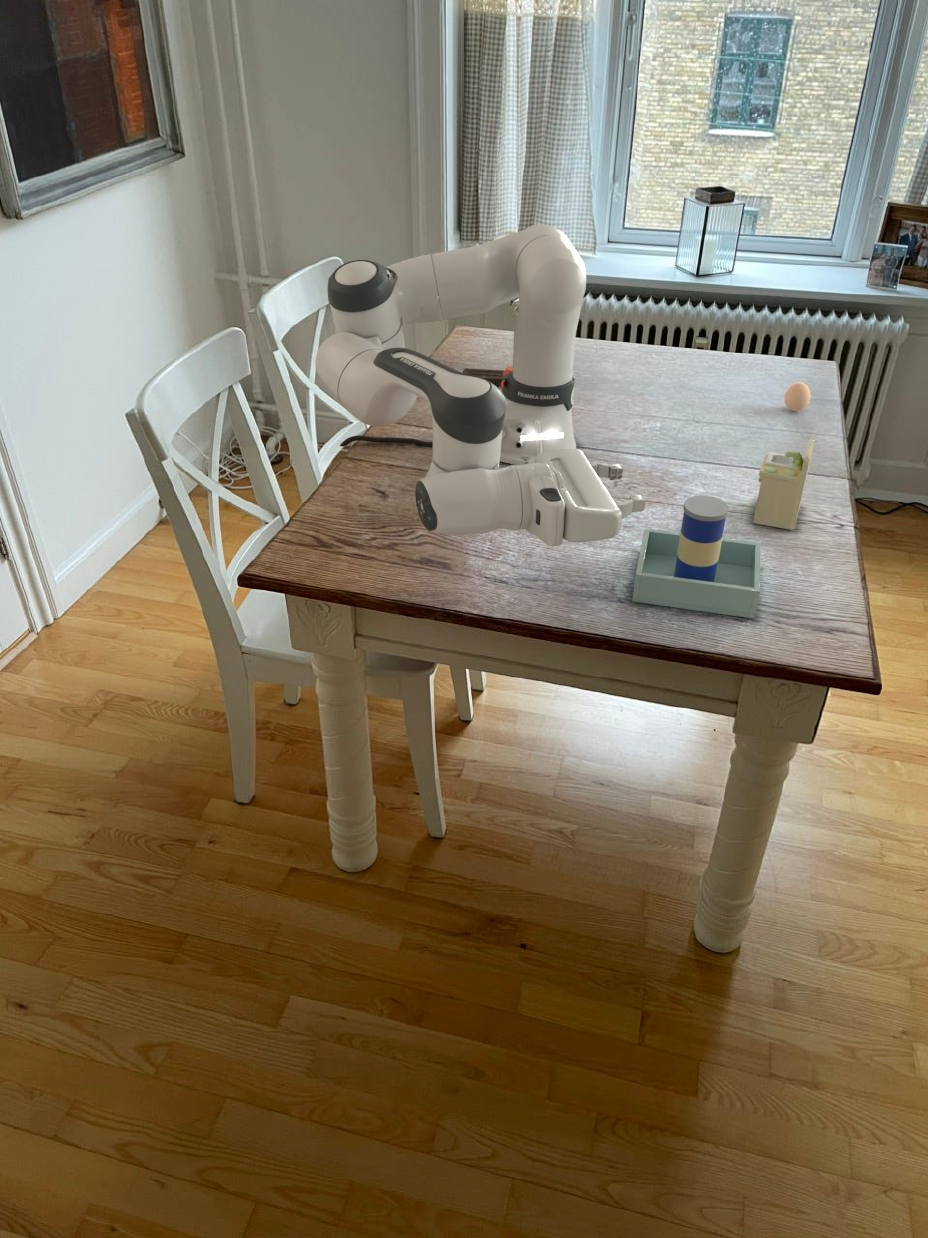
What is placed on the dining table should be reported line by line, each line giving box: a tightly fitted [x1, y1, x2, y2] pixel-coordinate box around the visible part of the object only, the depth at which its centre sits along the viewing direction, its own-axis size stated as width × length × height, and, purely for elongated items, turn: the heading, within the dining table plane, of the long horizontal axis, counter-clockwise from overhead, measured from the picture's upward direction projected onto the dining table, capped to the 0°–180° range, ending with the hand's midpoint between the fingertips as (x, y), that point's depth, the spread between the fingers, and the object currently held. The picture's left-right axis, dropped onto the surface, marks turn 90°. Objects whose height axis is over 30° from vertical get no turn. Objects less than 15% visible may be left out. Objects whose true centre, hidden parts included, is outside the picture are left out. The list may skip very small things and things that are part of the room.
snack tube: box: [674, 494, 730, 582], centre depth 142 cm, size 6×6×13 cm
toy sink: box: [753, 439, 816, 531], centre depth 160 cm, size 8×7×13 cm
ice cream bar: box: [462, 367, 505, 387], centre depth 212 cm, size 5×2×15 cm
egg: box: [783, 381, 811, 412], centre depth 197 cm, size 5×5×6 cm
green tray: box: [632, 528, 762, 619], centre depth 145 cm, size 18×14×5 cm
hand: (631, 486), depth 134 cm, fingers open, 8 cm apart
